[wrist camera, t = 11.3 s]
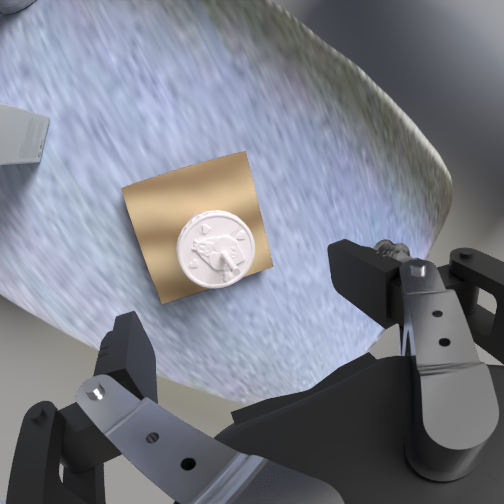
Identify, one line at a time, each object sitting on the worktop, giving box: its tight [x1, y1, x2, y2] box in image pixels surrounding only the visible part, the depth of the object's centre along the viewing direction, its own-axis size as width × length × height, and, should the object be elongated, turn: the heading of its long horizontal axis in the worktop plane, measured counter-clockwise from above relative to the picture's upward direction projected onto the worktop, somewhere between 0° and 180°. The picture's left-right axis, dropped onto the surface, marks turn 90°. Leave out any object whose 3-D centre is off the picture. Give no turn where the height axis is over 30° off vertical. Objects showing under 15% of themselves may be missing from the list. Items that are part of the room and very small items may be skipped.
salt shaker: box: [373, 239, 419, 263], centre depth 39 cm, size 6×6×12 cm
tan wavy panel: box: [121, 151, 273, 304], centre depth 34 cm, size 14×14×3 cm
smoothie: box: [176, 210, 255, 288], centre depth 26 cm, size 6×6×14 cm
